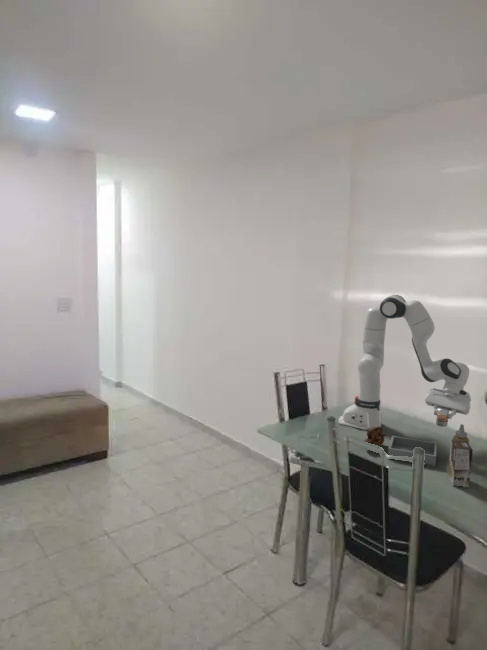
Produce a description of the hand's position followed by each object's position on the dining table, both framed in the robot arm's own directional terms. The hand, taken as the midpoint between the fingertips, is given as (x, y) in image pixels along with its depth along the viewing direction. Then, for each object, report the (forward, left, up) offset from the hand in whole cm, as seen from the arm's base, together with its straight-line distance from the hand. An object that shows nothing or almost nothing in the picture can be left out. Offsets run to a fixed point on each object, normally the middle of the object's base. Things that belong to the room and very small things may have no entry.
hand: (442, 416), depth 225 cm
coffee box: (+8, -35, -15) cm, 39 cm away
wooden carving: (-28, -15, -15) cm, 36 cm away
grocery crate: (-11, -17, -15) cm, 26 cm away
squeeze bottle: (+8, -17, -15) cm, 24 cm away
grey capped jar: (0, +1, -4) cm, 4 cm away
